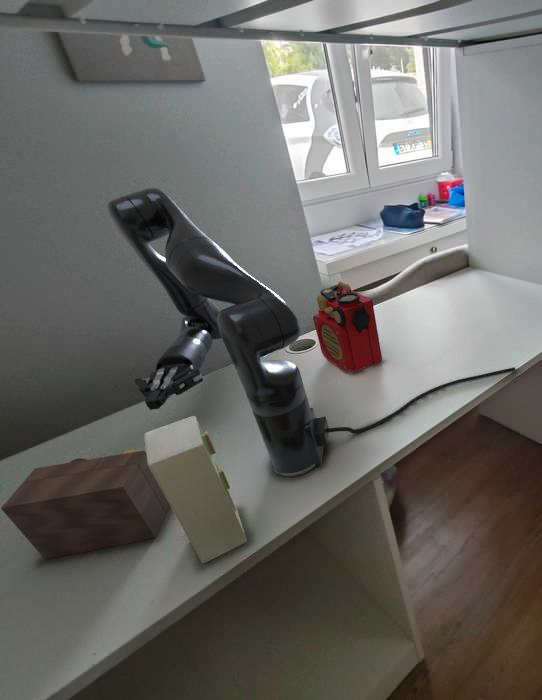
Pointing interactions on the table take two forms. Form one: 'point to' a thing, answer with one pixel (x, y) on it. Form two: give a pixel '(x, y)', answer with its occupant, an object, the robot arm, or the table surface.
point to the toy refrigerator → (195, 487)
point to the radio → (347, 328)
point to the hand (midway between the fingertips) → (152, 405)
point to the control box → (88, 505)
